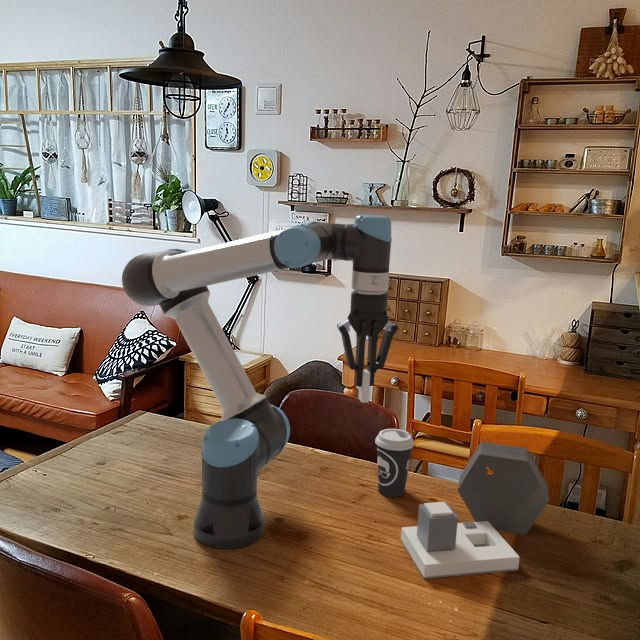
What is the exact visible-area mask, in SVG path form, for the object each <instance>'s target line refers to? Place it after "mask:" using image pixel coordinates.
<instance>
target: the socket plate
mask: <svg viewBox="0 0 640 640" xmlns="http://www.w3.org/2000/svg"><path fill="white" fill-rule="evenodd" d="M400 542H401V543H402V545H403V546H404V549H405V551H407V553H408V555H409V557H410V558H411V559H412V562H413V564H414V565H415V566H416V568H417V570H418V571H419V573H420V575H421V576H422V579H423V580H426V579H437V578H449V577H457V576H458V577H459V576H470V575H472V576H473V575H481V574H492V573H493V574H494V573H503V572H514V571H515V572H516V571H519V565H520V556H519V554H518V553H517V552H516V551H515V550H514V549H513V548H512V547H511V545H510V544H509V543H508V542H507V541H506V540H505V539H504V537H503V536H502V535H501V534H500V533H499V531H496V530H495V529H494V527H493V526H492V525H491V524H490V523H489V522H488V521H482V522H475V521H471V522H458V523H457V534H456V545H455V549H447V550H436V551H427V550H426V549H425V547H424V546H423V544H422V542H421V541H420V539H419V538H418V536H417V525H416V526H415V525H414V526H402V527H401V529H400Z"/></svg>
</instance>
